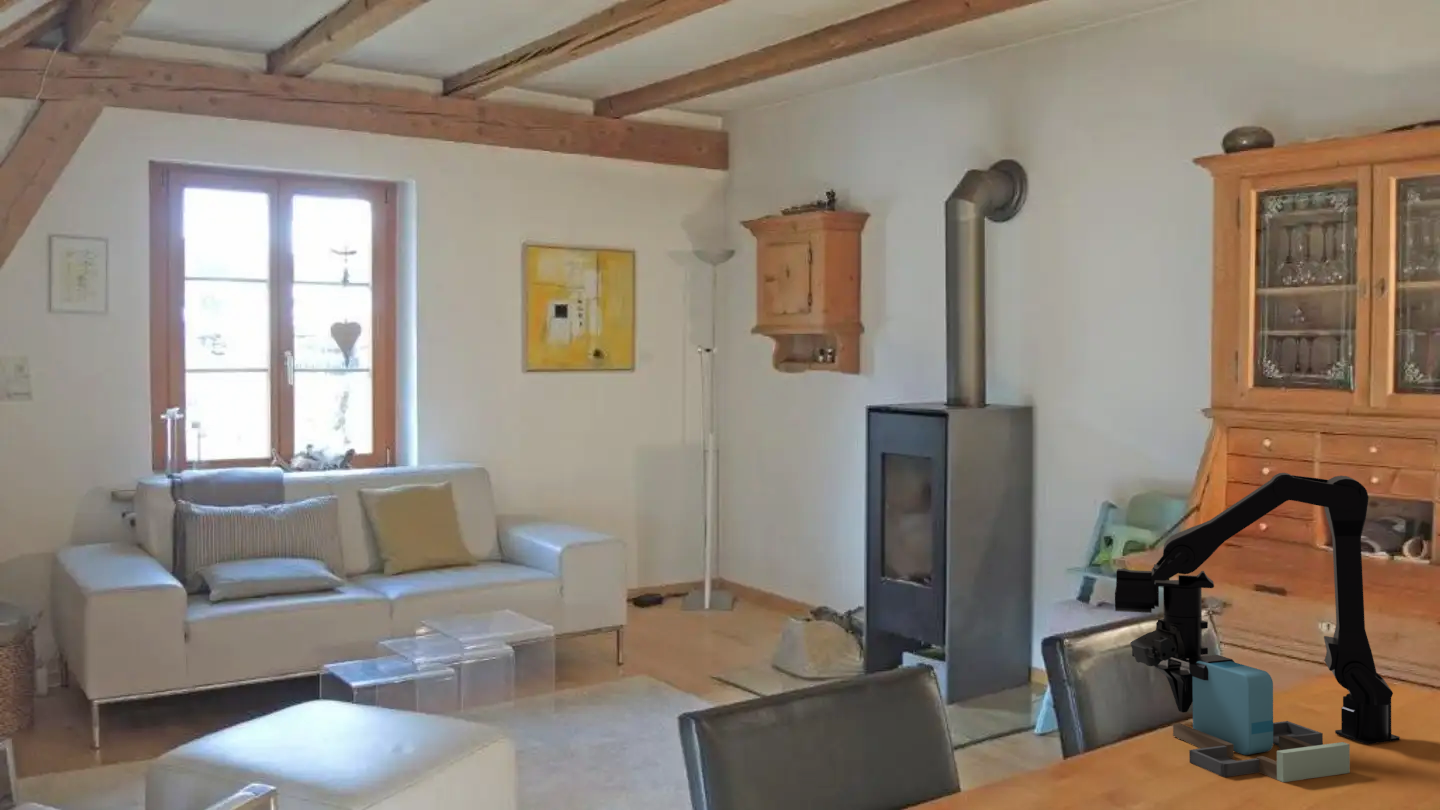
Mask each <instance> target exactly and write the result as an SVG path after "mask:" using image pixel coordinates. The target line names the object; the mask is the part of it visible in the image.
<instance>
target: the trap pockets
mask: <svg viewBox="0 0 1440 810" xmlns="http://www.w3.org/2000/svg"><path fill="white" fill-rule="evenodd" d="M1283 735H1286V736H1289V737H1292V738H1295V739H1297V740H1300V741H1303V742H1305V743H1308V744H1311V745H1314V746H1317V745H1324V744H1323V743H1324V738H1323V737H1324V735H1323V732H1321V731H1317V730H1315V729H1311V728H1310V727H1306V726H1303V725H1301V724H1297V723H1296V722H1295V723H1294V722H1291V721H1288V720H1284V721H1283V720H1282V721H1275V722H1274V721H1273V745H1275V746H1278V747H1279V736H1283ZM1188 751H1189V763H1190V764H1192V765H1195V766H1197V767H1200V768H1201V769H1204V770H1206V771H1208V772H1210V773H1214V774H1216V775H1218V776H1221V777H1223V778H1228V777H1235V776H1241V775H1242V776H1243V775H1251V774H1257V773H1260V772H1259V759H1256V757H1255V758H1249V759H1241V760H1235V759H1234V758H1228V757H1227V747H1226V746H1216V747H1208V748H1195V749H1189V750H1188Z"/></svg>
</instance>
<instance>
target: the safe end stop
mask: <svg viewBox="0 0 1440 810" xmlns="http://www.w3.org/2000/svg"><path fill="white" fill-rule="evenodd" d="M1350 752H1351V751H1350V743H1347V742H1344V741H1341V742H1340V741H1339V742H1333V743H1324V744H1323V745H1317V746H1309V747H1302V748H1294V749H1287V750H1279V749H1278V750H1276V761H1277V779H1276V781H1279V782H1282V783H1288V782H1294V781H1300V780H1301V781H1302V780H1307V779H1308V780H1309V779H1315V778H1323V777H1329V776H1336V775H1337V776H1338V775H1343V774H1350V772H1351V771H1350V770H1351V769H1350V766H1351V763H1350V760H1351V759H1350V755H1351V754H1350Z"/></svg>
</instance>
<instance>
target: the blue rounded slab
mask: <svg viewBox="0 0 1440 810" xmlns="http://www.w3.org/2000/svg"><path fill="white" fill-rule="evenodd" d="M1196 663H1199V664H1204V665H1206V666H1207V668H1208V680H1202V679H1199V678H1196V677H1193V702H1192V728H1193V729H1196V730H1198V731H1201V732H1203V733H1206V734H1209V735H1211V736H1214V737H1216V738H1219V739H1221V740H1224V741H1226V742H1229V743H1231V744H1234V752H1235V753H1237V754H1240V755H1242V756H1248V755H1254V754H1255V755H1256V754H1261V753H1266V752H1267V753H1268V752H1270V751H1271V750H1272V749H1273V747H1274V744H1273V723H1274V682H1273V677H1272V676H1271V675H1270V674H1269V672H1268V671H1265V670H1262V669H1258V668H1255V667H1252V666H1249V665H1245V664H1242V663H1239V662H1235V661H1234V662H1232V661H1227V662H1218V663H1205V662H1202V661H1197V662H1196Z"/></svg>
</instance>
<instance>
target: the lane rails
mask: <svg viewBox="0 0 1440 810" xmlns="http://www.w3.org/2000/svg"><path fill="white" fill-rule="evenodd" d="M1173 736H1175V737H1177V738H1179V739H1178V740H1180V739H1181V740H1180V741H1182V740H1184V741H1183V742H1185V741H1186V742H1185V743H1187V742H1188V743H1187V744H1190V743H1191V744H1190V745H1192V744H1193V745H1192V746H1194V745H1195V746H1194V747H1197V748H1199V747H1200V748H1208V747H1216V746H1226V747H1227V757H1228V758H1231V759H1234V757H1235V756H1234V754H1235V753H1234V744H1231V743H1229V742H1226V741H1224V740H1221V739H1219V738H1216V737H1214V736H1211V735H1209V734H1206V733H1203V732H1201V731H1198V730H1196V729H1193V727H1191V726H1188V725H1185V724H1183V723H1180V722H1178V723H1177V722H1176V723H1172V737H1173ZM1175 737H1174V738H1175ZM1177 738H1176V739H1177ZM1309 746H1314V745H1311V744H1308V743H1305V742H1303V741H1300V740H1297V739H1295V738H1292V737H1289V736H1286V735H1283V736H1279V746H1278V751H1279V750H1287V749H1294V748H1302V747H1309ZM1200 748H1199V749H1200ZM1255 758H1256V759H1259V772H1258V773H1259V774H1263V775H1265V776H1267V777H1270V778H1272V779H1275V780H1277V760H1274V759H1272V758H1269V757H1266V756H1263V755H1261V756H1256V757H1255Z"/></svg>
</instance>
